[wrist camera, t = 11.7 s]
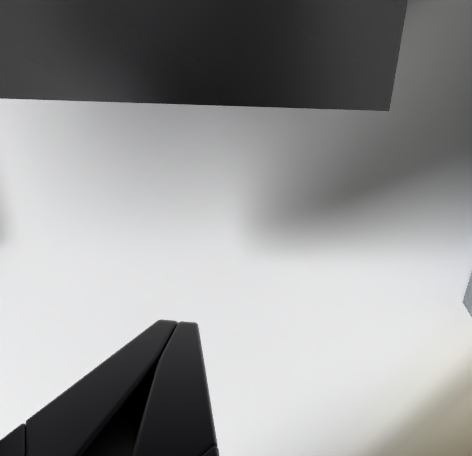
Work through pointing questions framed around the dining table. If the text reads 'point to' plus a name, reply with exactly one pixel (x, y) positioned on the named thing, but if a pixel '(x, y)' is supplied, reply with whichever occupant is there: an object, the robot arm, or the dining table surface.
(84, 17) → the jaw
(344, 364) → the dining table surface
